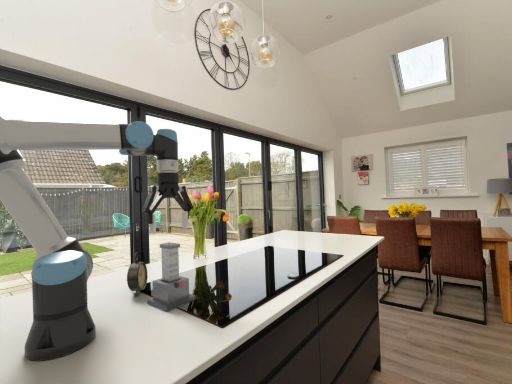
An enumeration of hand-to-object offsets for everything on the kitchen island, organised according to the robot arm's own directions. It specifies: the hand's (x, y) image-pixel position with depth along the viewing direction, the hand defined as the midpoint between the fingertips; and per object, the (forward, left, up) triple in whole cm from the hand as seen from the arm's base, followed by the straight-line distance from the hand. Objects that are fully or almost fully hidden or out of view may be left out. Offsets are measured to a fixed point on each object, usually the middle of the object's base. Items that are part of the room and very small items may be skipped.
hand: (170, 230), depth 96 cm
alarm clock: (-2, +20, -26) cm, 33 cm away
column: (0, 0, -24) cm, 24 cm away
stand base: (0, 0, -26) cm, 26 cm away
